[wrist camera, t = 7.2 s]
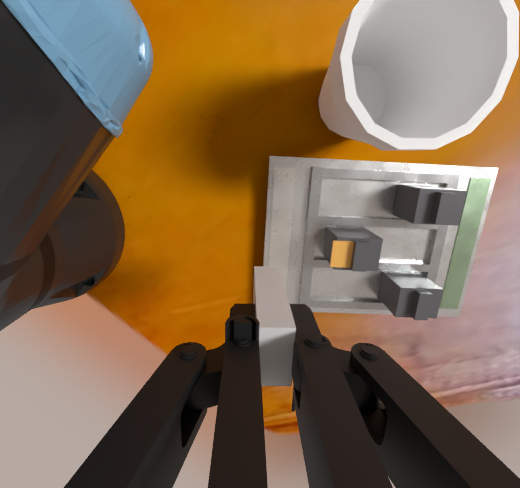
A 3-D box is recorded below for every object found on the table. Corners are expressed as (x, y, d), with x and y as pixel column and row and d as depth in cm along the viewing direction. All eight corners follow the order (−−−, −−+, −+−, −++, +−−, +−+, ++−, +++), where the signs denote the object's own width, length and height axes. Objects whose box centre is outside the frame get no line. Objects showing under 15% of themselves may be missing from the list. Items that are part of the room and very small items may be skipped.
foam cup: (419, 111, 29) (548, 75, 16) (339, 173, 30) (401, 184, 18) (365, 19, 26) (465, -104, 14) (282, 91, 28) (305, 38, 15)
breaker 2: (392, 215, 30) (418, 225, 25) (398, 184, 29) (425, 189, 24) (432, 216, 30) (464, 227, 25) (438, 186, 29) (473, 191, 24)
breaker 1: (319, 255, 31) (331, 272, 26) (322, 226, 30) (335, 239, 25) (362, 257, 31) (381, 274, 26) (366, 228, 30) (386, 241, 25)
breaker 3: (378, 297, 32) (399, 321, 28) (382, 271, 31) (405, 291, 27) (414, 299, 32) (441, 322, 28) (420, 273, 32) (448, 292, 27)
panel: (260, 303, 34) (261, 312, 32) (268, 155, 29) (270, 155, 27) (450, 310, 35) (463, 319, 33) (486, 167, 30) (503, 168, 28)
